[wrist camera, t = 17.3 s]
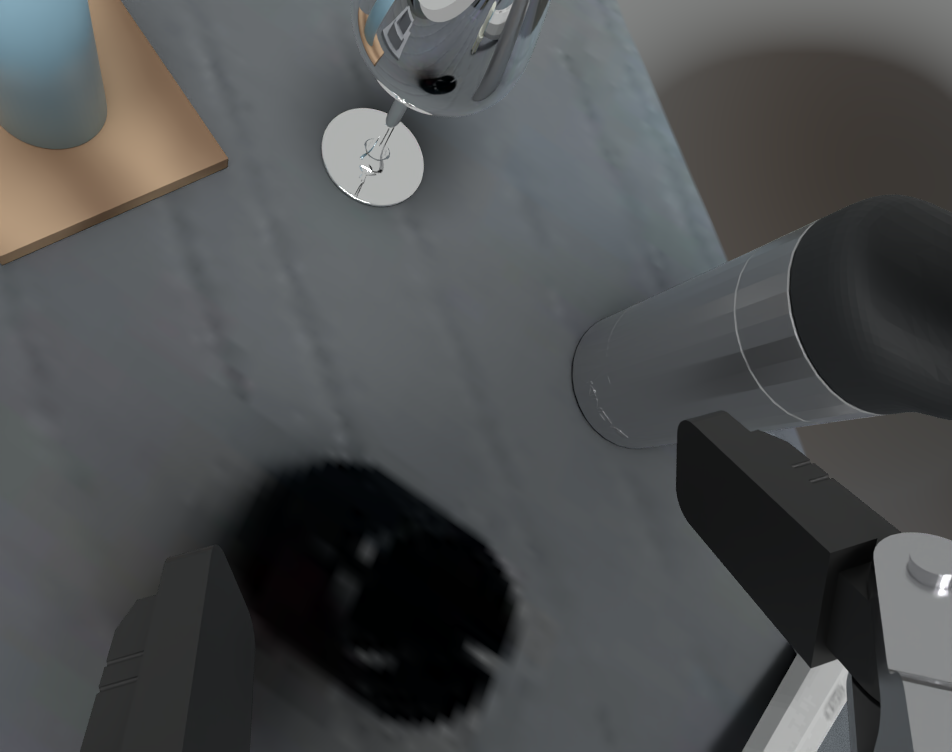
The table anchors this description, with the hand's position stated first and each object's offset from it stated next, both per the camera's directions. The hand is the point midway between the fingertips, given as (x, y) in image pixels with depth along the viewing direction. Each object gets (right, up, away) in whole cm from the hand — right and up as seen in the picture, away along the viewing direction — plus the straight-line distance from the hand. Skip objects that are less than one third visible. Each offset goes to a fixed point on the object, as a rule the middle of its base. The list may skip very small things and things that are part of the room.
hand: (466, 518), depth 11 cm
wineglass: (-6, +16, +29) cm, 34 cm away
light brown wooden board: (-21, +16, +22) cm, 35 cm away
